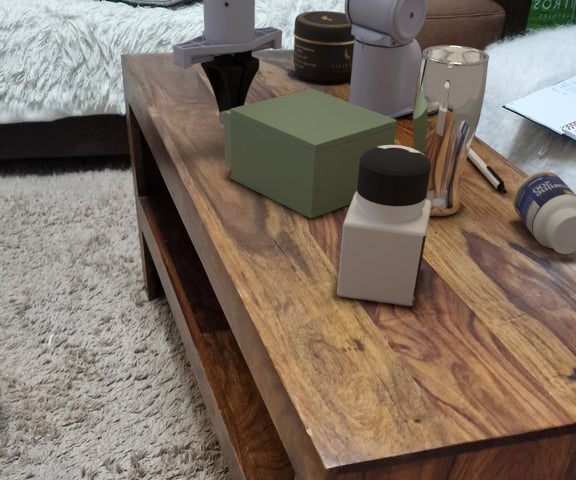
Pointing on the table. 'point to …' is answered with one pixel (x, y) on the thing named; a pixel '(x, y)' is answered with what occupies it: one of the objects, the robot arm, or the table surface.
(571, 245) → the pill bottle
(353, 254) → the medicine bottle
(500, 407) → the table surface
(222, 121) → the drawer
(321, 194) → the cabinet
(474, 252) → the table surface
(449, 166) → the beer glass
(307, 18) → the jar
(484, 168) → the pen
